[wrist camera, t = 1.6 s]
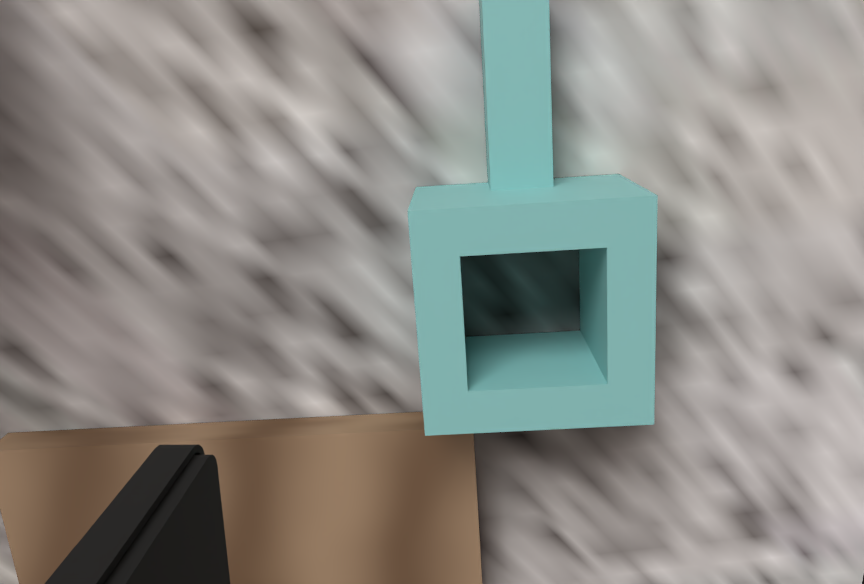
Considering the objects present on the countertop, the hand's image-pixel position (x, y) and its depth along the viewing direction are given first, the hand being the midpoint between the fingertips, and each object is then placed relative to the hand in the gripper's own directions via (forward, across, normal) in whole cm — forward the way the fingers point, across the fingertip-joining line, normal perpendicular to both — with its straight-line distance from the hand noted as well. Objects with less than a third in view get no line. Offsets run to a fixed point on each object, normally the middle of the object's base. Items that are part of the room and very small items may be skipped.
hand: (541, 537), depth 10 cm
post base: (+17, +9, +14) cm, 24 cm away
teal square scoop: (+17, -1, -2) cm, 17 cm away
